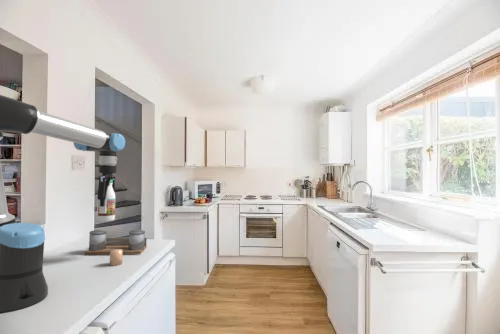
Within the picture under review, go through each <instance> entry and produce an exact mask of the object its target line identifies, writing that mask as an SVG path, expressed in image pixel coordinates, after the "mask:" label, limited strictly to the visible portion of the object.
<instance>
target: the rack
mask: <svg viewBox="0 0 500 334" xmlns="http://www.w3.org/2000/svg"><path fill="white" fill-rule="evenodd" d="M107 234H108V230H107V229H96V230H95V229H94V230H90V231H89V242H88V250H85V251H84V256H110V251H111V250H114V249H122V250H123V253H122V256H125V255H126V256H128V255H130V256H136V255H135V254H140V255H142V253H143V252H144V251H145V250H146V249H147V247H148V246H147V241H148V240H147V239H148V237H145V236H146V230H145V229H134V230H130V231H128V237H107Z"/></svg>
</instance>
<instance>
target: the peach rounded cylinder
mask: <svg viewBox="0 0 500 334" xmlns="http://www.w3.org/2000/svg"><path fill="white" fill-rule="evenodd" d="M122 253H123V250H122V249H114V250H111V251H110V255H109V267H110V266H111V267H117V266H121V265H122V264H123V255H122Z"/></svg>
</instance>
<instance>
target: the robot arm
mask: <svg viewBox="0 0 500 334" xmlns="http://www.w3.org/2000/svg"><path fill="white" fill-rule="evenodd" d="M3 132H11V133H20V134H24V135H28V134H31V133H33V134H35V135H36V134H37V135H41V136H44V137H45V136H46V137H48V138H54V139H58V140H63V141H67V142H71V143H73V146H74V148H75V149H76V150H78V151H81V152H82V151H83V152H93V153H95V152H96V153H97V152H98V153H99V154H98V155H99V158H98V164H99V166H98V173H99V174H101V175H102V176H99V177H98V187H97V188H98V189H97V200H98V199H99V200H100V206H99V213H106V200H107V199H106V194H107V189H108V186H109V184H110V180H113V183H112V188H113V191H114V193H115V194H116V183H115V182H116V176H113V174H116V173H117V164H118V163H117V161H118V152H120V151H122V150H124V148H125V146H126V139H125V137H124V136H123V135H122V134H120V133H116V132H114V133H113V132H107V131H103V130H100V129H97V128H95V127H91V126H88V125H85V124H82V123H78V122H76V121H72V120H69V119H65V118H63V117H60V116H58V115H57V116H56V115H54V114H50V113H47V112H44V111H41V110H39V109H38V107H36V106H35V105H33V104H29V103H26V102H24V101H20V100H18V99H14V98H11V97H9V96H5V95H1V94H0V141H1V140H3V138H4V136H3V135H4V134H3ZM7 202H8V201H7V195H6V189H5V182H4V175H3V169H2V162H1V160H0V313H5V312H12V311H16V310H21V309H25V308H28V307H30V306H33V305H35V304H37V303H40V302H41V301H43V300H45V298H47V297H48V295H49V286H48V284H47V280H46V278H45V275H44V273H43V272H44V271H43V269H44V267H43V265H44V253H45V251H44V250H45V249H44V248H45V239H46V236H45V228H44V227H43V226H42V225H40V224H37V223H34V222H33V223H32V222H17V220H16V216H15V215H13V214H11V213H10V212H9V208H8V203H7Z"/></svg>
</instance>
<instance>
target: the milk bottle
mask: <svg viewBox="0 0 500 334" xmlns="http://www.w3.org/2000/svg"><path fill="white" fill-rule="evenodd" d="M112 183H113V180H110V184H109V186H108V189H107V194H106V199H107V200H106V213H99V206H100V200H99V199H97V202H96V203H97V205H96V221H97V222H101V223H106V222H113V221H115V219H116V192H115V193H114V191H113V188H112Z"/></svg>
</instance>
